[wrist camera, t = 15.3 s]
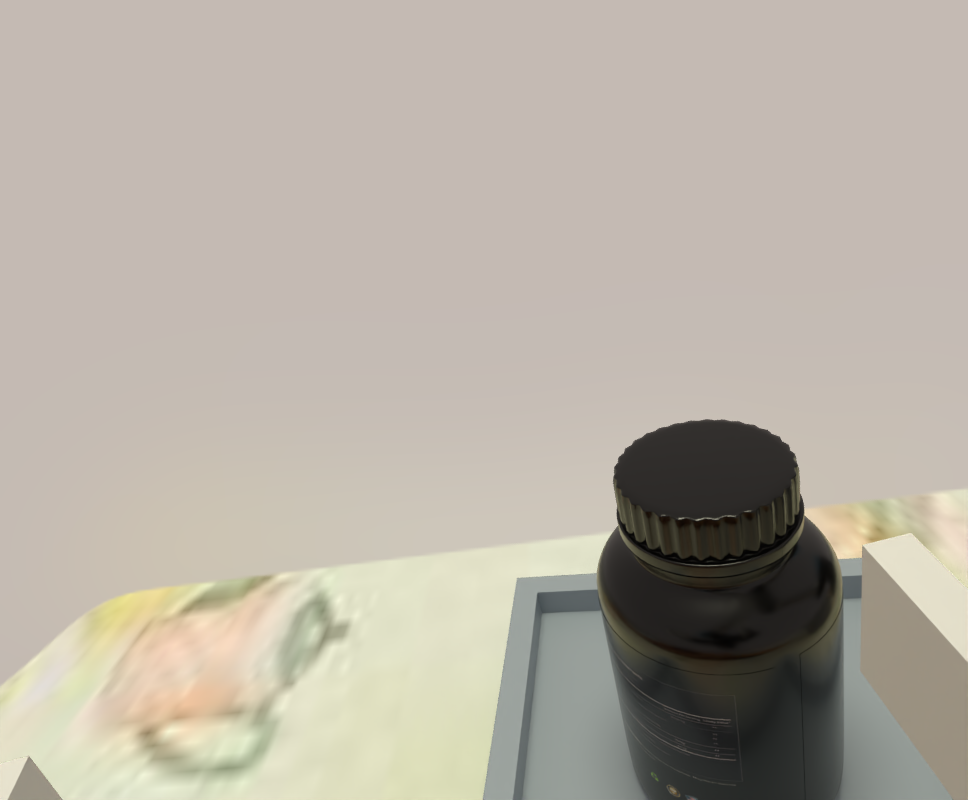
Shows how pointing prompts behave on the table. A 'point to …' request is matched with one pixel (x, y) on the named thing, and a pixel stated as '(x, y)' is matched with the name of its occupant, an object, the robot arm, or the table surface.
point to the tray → (598, 720)
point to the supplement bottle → (723, 619)
